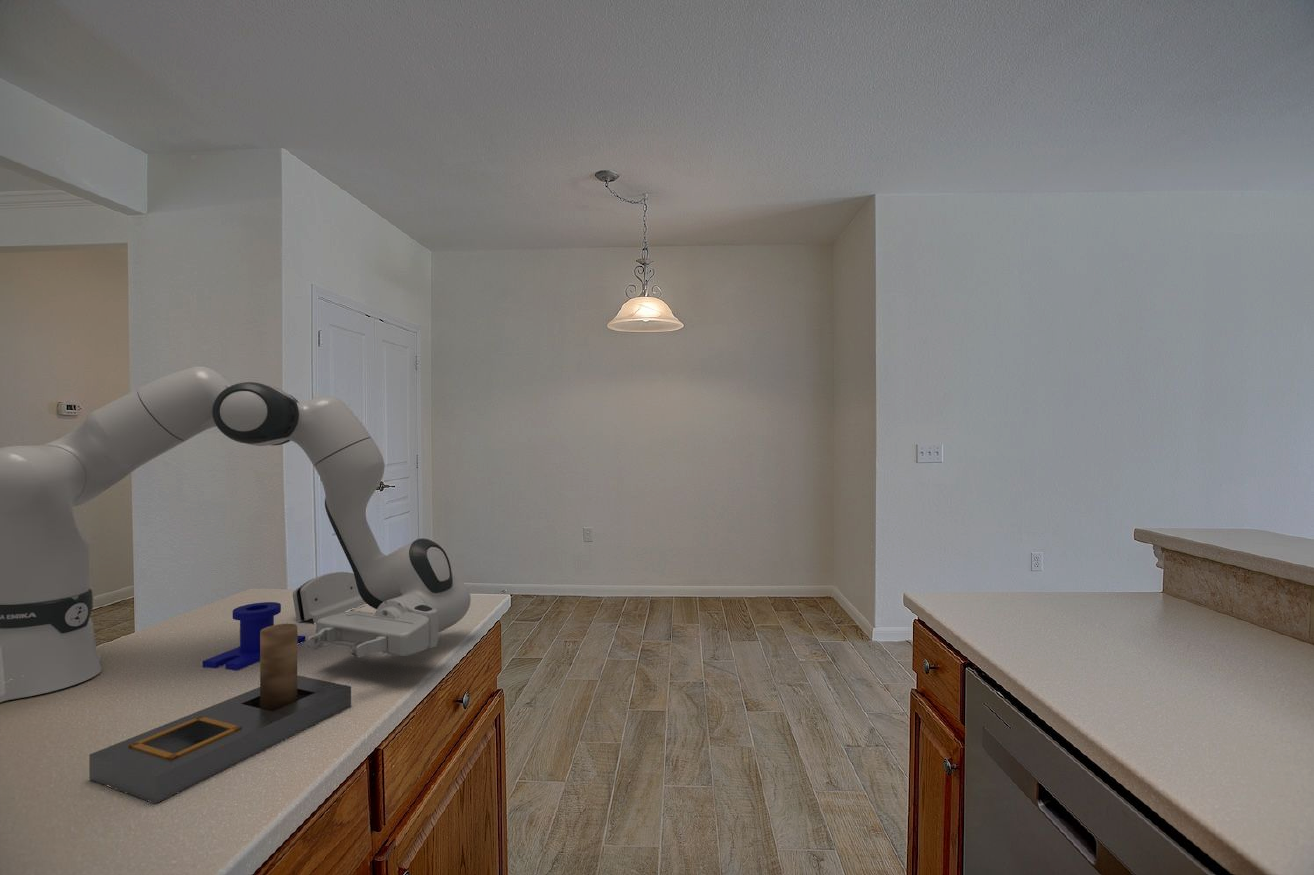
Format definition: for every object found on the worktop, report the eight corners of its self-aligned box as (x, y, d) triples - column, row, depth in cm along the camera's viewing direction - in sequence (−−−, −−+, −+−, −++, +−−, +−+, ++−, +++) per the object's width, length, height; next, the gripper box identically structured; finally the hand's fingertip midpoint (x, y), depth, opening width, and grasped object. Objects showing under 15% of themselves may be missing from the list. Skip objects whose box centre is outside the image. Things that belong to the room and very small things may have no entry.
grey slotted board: (89, 779, 70) (89, 752, 70) (292, 693, 93) (292, 672, 93) (155, 803, 65) (155, 774, 65) (350, 706, 89) (351, 685, 89)
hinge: (314, 624, 128) (302, 580, 128) (297, 630, 129) (285, 586, 130) (370, 603, 144) (359, 564, 145) (355, 608, 145) (343, 569, 146)
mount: (272, 639, 119) (273, 596, 119) (305, 642, 117) (305, 598, 117) (202, 668, 104) (202, 618, 104) (238, 671, 103) (238, 620, 103)
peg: (252, 726, 83) (252, 633, 83) (273, 711, 87) (274, 623, 87) (284, 726, 83) (284, 633, 83) (304, 711, 87) (304, 623, 87)
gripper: (356, 598, 110) (286, 619, 97) (444, 610, 103) (381, 635, 90) (355, 632, 110) (285, 658, 97) (444, 647, 103) (381, 677, 90)
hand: (332, 647), depth 93 cm, fingers open, 8 cm apart
